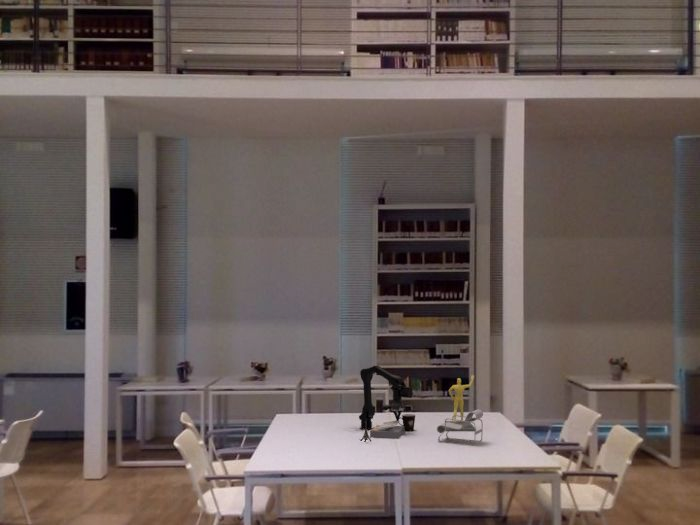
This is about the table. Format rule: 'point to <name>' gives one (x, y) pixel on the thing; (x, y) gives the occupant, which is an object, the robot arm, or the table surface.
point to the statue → (460, 402)
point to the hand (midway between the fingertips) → (397, 421)
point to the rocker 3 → (387, 426)
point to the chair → (456, 426)
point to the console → (387, 432)
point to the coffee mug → (408, 421)
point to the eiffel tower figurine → (365, 434)
